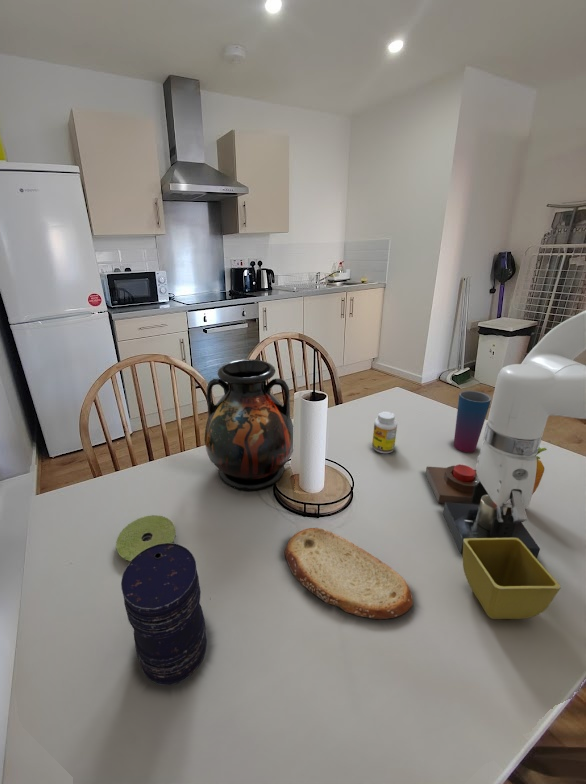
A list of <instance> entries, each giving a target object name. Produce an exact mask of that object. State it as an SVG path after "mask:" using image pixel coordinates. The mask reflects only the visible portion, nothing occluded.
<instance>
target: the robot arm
mask: <svg viewBox="0 0 586 784" xmlns="http://www.w3.org/2000/svg"><path fill="white" fill-rule="evenodd" d="M585 351H586V309H585V310H583V311H581V312H579V313H578V314H575V315H573V316H571V317H570V318H569V317H568V318H567V319H566V320H564V321H562V322H560V323H559V324H557V325H556V326H554V327H553V328H551V330H549V331H548V332H547V333H545V335H544V336H543V337H542V338H541V339H540V340H539V341H538V342H537V344H535V345H534V347H532V349H531V350H530V351H529V352H528V354H527V355H526V356H525V357H524V359H523V360H522V362H521V363H513V364H512V363H511V364H508V365H505V366H504V367H502V368H501V369H500V370H499V372H498V374H497V378H496V381H495V386H494V391H493V394H492V395H493V396H492V398H491V402H490V406H489V411H488V417H487V421H486V425H485V429H484V433H483V436H482V440H483V442H482V445H481V448H480V451H479V454H478V456H476V467H475V470H476V474H477V477H476V478H475V484H476V485H475V487H474V491H473V495H472V499H471V501H472V503H474V504H480V501H481V497H482V496H483V495H489V496H490V498H491V499H492V501H493V502H494V503H495V504H496V506H497V517H494V520H493V523H492V527H491V531H490V535H491V537H494V538H512V535H513V532H514V528H515V525H516V524H521V523H522V524H523V523H524V522H526V521H528V516H527V511H526V510H528V509H529V507H530V504H531V501H532V497H533V495H532V493H533V489H534V484H535V478H536V469H537V458H536V456H537V455H538V454H537V452H538V449H539V447H540V445H541V443H542V440H543V435H544V432H545V429H546V425H547V423H548V419H549V418H550V416H556V417H565V418H572V419H578V420H579V419H581V420H586V364H583V363H582V362H581V363H580V362H578V361H576V360H575V359H576V358H578V356H580V355H581V354H582V353H583V352H585ZM536 454H537V455H536ZM535 455H536V456H535ZM533 494H534V493H533ZM508 501H510V502H508ZM505 502H506V503H505ZM503 507H507V508H511V515H504V510H503Z"/></svg>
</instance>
